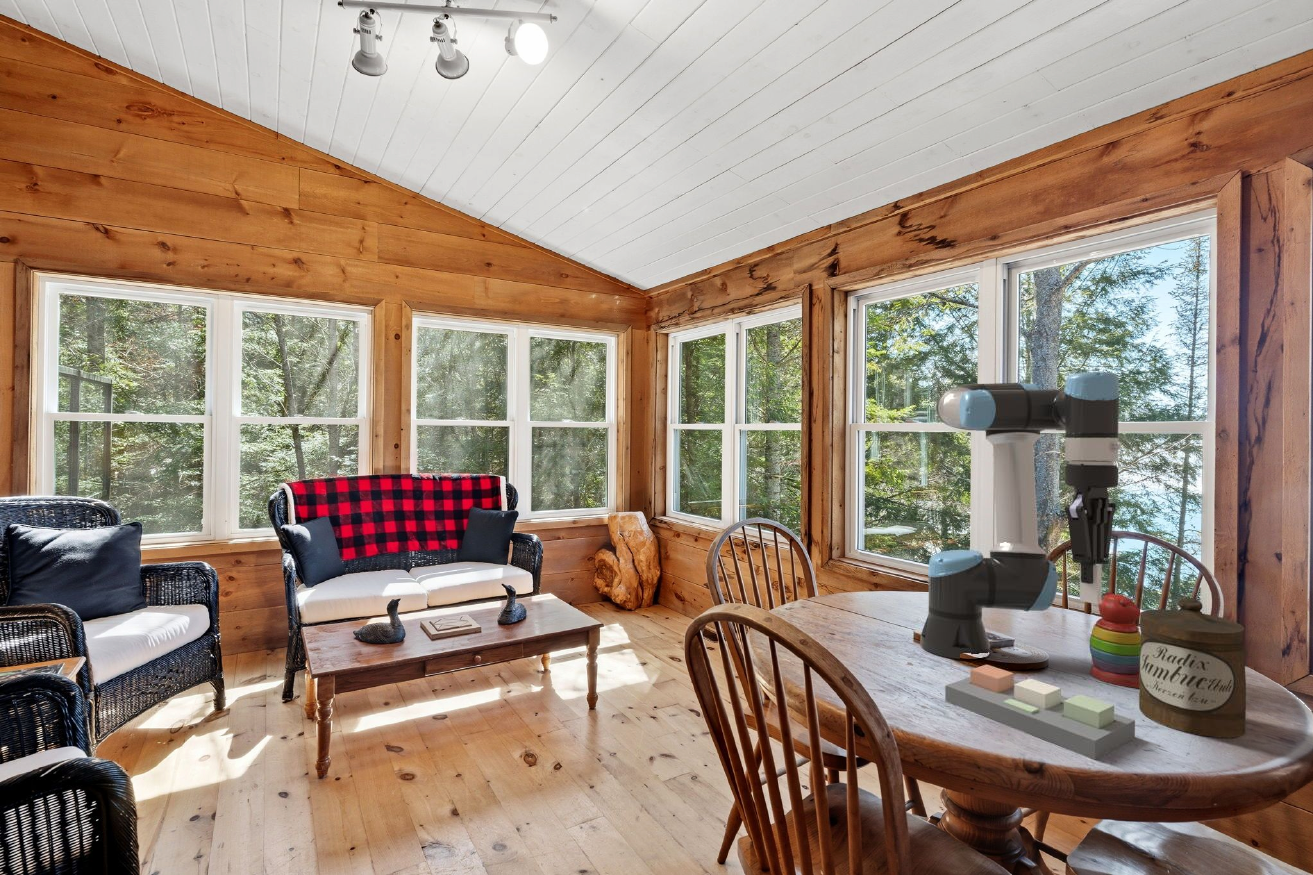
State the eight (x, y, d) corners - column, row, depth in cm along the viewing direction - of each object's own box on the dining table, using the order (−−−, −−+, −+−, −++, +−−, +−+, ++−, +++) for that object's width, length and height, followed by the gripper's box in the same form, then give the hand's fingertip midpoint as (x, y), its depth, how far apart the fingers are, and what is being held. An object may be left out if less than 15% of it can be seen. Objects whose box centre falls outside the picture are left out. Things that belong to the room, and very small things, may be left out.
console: (945, 700, 123) (945, 683, 123) (987, 686, 131) (987, 669, 131) (1094, 759, 101) (1095, 738, 101) (1134, 737, 109) (1135, 717, 109)
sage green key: (1063, 718, 110) (1063, 700, 110) (1079, 711, 113) (1079, 694, 113) (1098, 730, 106) (1098, 712, 106) (1113, 722, 109) (1114, 705, 108)
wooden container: (1127, 715, 117) (1128, 596, 117) (1153, 695, 126) (1154, 584, 126) (1234, 747, 106) (1235, 614, 105) (1254, 723, 115) (1255, 600, 114)
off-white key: (1014, 700, 117) (1014, 684, 117) (1030, 694, 120) (1030, 678, 120) (1044, 711, 113) (1045, 694, 113) (1060, 704, 116) (1060, 688, 116)
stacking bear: (1159, 690, 129) (1160, 602, 129) (1103, 686, 131) (1104, 599, 131) (1131, 670, 140) (1132, 589, 140) (1079, 667, 142) (1080, 587, 142)
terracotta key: (970, 684, 125) (970, 669, 125) (986, 679, 128) (986, 664, 127) (997, 694, 120) (997, 678, 120) (1013, 688, 123) (1013, 673, 123)
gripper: (1097, 464, 102) (1096, 612, 102) (1134, 463, 109) (1133, 601, 109) (1048, 463, 109) (1047, 601, 109) (1085, 462, 116) (1085, 592, 116)
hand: (1090, 601), depth 109 cm, fingers closed
